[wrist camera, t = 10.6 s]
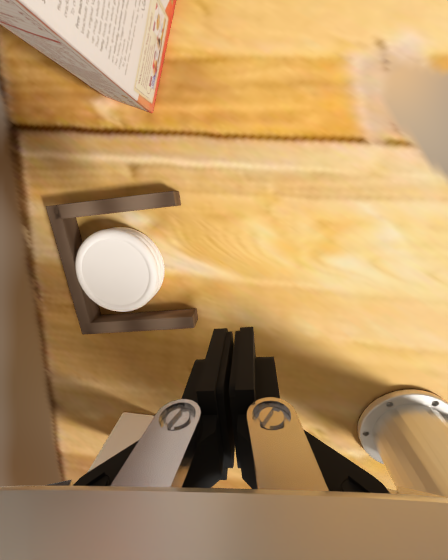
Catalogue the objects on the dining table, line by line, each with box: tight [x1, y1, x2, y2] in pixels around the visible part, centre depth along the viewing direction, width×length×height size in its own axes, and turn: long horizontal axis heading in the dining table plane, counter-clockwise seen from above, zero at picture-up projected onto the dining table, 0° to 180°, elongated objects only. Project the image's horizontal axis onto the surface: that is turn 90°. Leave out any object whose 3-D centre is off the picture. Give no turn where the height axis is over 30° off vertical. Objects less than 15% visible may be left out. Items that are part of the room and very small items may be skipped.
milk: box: [88, 412, 154, 472], centre depth 31 cm, size 6×6×22 cm
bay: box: [46, 191, 198, 334], centre depth 32 cm, size 15×16×2 cm
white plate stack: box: [75, 227, 164, 312], centre depth 32 cm, size 10×10×4 cm
